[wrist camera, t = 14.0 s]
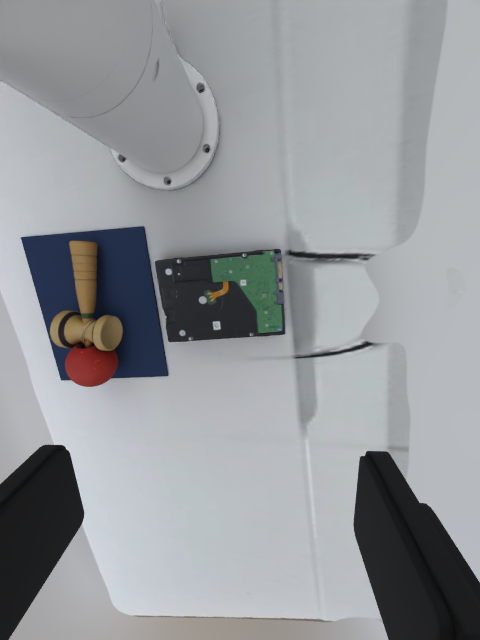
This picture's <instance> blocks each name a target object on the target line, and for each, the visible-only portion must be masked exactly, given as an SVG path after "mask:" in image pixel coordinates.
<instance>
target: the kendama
mask: <svg viewBox="0 0 480 640" xmlns="http://www.w3.org/2000/svg"><path fill="white" fill-rule="evenodd" d="M69 245H70V251H71V255H72V263H73V270H74V278H75V287H76V293H77V299H78V303H79V308H80V312H81V313H80V312H78V311H62V312H60V313H59V314H57V315H56V316H55V318H54V319H53V321H52V323H51V327H50V335H51V339H52V341H53V342H54V343H55V344H56V345H57V346H59V347H64V348H72V349H71V350H70V352H69V353H68V355H67V357H66V361H65V369H66V372H67V375H68V376H69V377H70V379H71V380H72V381H73V382H75V383H76V384H78V385H81V386H86V387H93V386H98V385H101V384H103V383H105V382H106V381H108V380H109V379H110V378H111V377H112V376H113V375H114V374H115V372H116V370H117V366H118V356H117V353H116V351H115V350H114V349H115V348H116V347H117V346H118V345H119V343H120V341H121V338H122V333H123V329H122V324H121V321H120V320H119V318H117V317H116V316H111V315H104V316H102V317H100V318H99V319H98V320H94V316H95V305H96V292H97V280H96V279H97V272H96V271H97V265H96V264H97V257H96V256H97V247H98V246H97V243H95V242H88V241H70V242H69Z"/></svg>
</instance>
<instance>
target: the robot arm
mask: <svg viewBox="0 0 480 640" xmlns="http://www.w3.org/2000/svg"><path fill="white" fill-rule="evenodd" d="M0 81H2V82H4V83H6V84H7V85H9V86H11V87H12V88H14V89H16V90H17V91H19V92H21V93H22V94H24V95H26V96H27V97H29V98H30V99H32V100H34V101H35V102H37V103H39V104H40V105H41V106H43V107H45V108H46V109H48V110H50V111H51V112H53V113H54V114H56V115H58V116H59V117H61V118H62V119H64V120H66V121H67V122H69V123H71V124H72V125H74V126H75V127H77V128H79V129H80V130H82V131H83V132H85V133H87V134H88V135H90V136H91V137H93V138H95V139H96V140H98V141H100V142H101V143H103V144H104V145H106V146H108V147H109V149H110V151H111V153H112V156H113V157H114V159H115V160H116V162H117V163H118V165H119V166H120V167H121V168H122V169H123V170H124V171H125V173H126V174H128V175H129V176H130V177H132V178H133V179H134V180H135V181H137V182H139V183H141V184H143V185H145V186H148V187H150V188H153V189H159V190H174V189H178V188H182V187H184V186H186V185H188V184H190V183H192V182H194V181H195V180H196V179H197V178H198V177H200V176H201V175H202V174H203V172H204V171H205V170H206V169H207V168H208V166H209V164H210V162H211V160H212V159H213V157H214V154H215V151H216V148H217V144H218V138H219V117H218V111H217V107H216V103H215V100H214V97H213V95H212V93H211V90H210V88H209V86H208V84H207V83H206V81H205V80H204V78H203V77H202V75H201V74H200V73H199V72H198V71H197V70H196V69H195V68H194V67H193V66H192V65H190V64H189V63H187V62H186V61H184V60H183V59H181V58H180V57H179V55H178V53H177V50H176V48H175V46H174V44H173V41H172V39H171V37H170V34H169V32H168V30H167V28H166V25H165V23H164V18H163V9H162V1H161V0H0ZM201 90H204V92H202V93H200V91H201ZM206 149H210V151H209V153H206ZM124 158H126V160H125V162H124ZM169 180H171V183H170V184H168V181H169ZM83 518H84V509H83V505H82V501H81V497H80V493H79V489H78V485H77V481H76V477H75V473H74V469H73V464H72V460H71V456H70V453H69V451H68V450H66V448H65V447H64V446H63V445H43V446H42V447H40V448H39V449H38V450H37V451H36V452H35V453H33V454H32V455H31V456H30V457H29V458H28V459H27V460H26V461H25V462H24V463H23V464H22V465H21V466H19V468H17V469H16V470H15V471H14V472H13V473H12V474H11V475H10V476H9V477H8V478H7V479H6V480H4V481H3V482H2V483H1V484H0V640H9V638H10V636H11V635H12V633H13V632H14V630H15V629H16V627H17V625H18V624H19V622H20V621H21V619H22V618H23V616H24V614H25V613H26V611H27V610H28V608H29V607H30V605H31V603H32V602H33V600H34V598H35V597H36V595H37V594H38V592H39V591H40V589H41V588H42V586H43V584H44V583H45V581H46V580H47V578H48V577H49V575H50V573H51V572H52V570H53V568H54V567H55V565H56V564H57V562H58V561H59V559H60V558H61V556H62V554H63V553H64V551H65V550H66V548H67V547H68V545H69V543H70V542H71V540H72V539H73V537H74V536H75V534H76V532H77V531H78V529H79V528H80V526H81V524H82V522H83ZM354 532H355V536H356V540H357V543H358V546H359V549H360V552H361V555H362V558H363V562H364V565H365V568H366V571H367V574H368V577H369V580H370V583H371V586H372V589H373V593H374V596H375V599H376V602H377V605H378V608H379V611H380V614H381V617H382V620H383V624H384V627H385V630H386V633H387V636H388V639H389V640H480V582H479V581H478V579H477V578H476V576H475V575H474V573H473V572H472V570H471V568H470V567H469V565H468V564H467V562H466V561H465V559H464V558H463V556H462V554H461V553H460V551H459V550H458V548H457V547H456V545H455V544H454V542H453V540H452V539H451V537H450V536H449V534H448V533H447V531H446V530H445V528H444V527H443V525H442V524H441V522H440V520H439V519H438V517H437V516H436V514H435V513H434V511H433V510H432V509H431V507H429V506H428V505H427V504H424V503H419V501H418V500H417V498H416V496H415V495H414V493H413V492H412V490H411V488H410V487H409V485H408V483H407V482H406V480H405V478H404V477H403V475H402V473H401V472H400V470H399V468H398V467H397V465H396V464H395V462H394V460H393V459H392V457H391V455H390V454H389V453H388V452H384V451H367V452H366V455H365V456H361V457H360V462H359V472H358V483H357V493H356V504H355V514H354Z"/></svg>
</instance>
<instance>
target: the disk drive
mask: <svg viewBox="0 0 480 640" xmlns="http://www.w3.org/2000/svg"><path fill="white" fill-rule="evenodd" d="M281 259H282V257H281V250H280V249H274V250H257V251H251V252H241V253H230V254H219V255H209V256H198V257H188V258H173V259H166V260H159V261H156V262H155V267H156V272H157V278H158V283H159V289H160V295H161V301H162V307H163V310H164V312H165V315H166V316H167V318H166V330H167V335H168V341H169V342H186V341H196V340H210V339H224V338H241V337H253V336H254V337H255V336H270V335H283V334H285V316H284V293H283V276H282V262H281Z"/></svg>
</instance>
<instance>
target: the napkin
mask: <svg viewBox="0 0 480 640" xmlns="http://www.w3.org/2000/svg"><path fill="white" fill-rule="evenodd" d="M21 240H22V243H23V247H24V250H25V254H26V257H27V261H28V264H29V268H30V271H31V275H32V279H33V282H34V286H35V289H36V293H37V296H38V300H39V303H40V307H41V311H42V314H43V318H44V321H45V325H46V328H47V332H48V335H49V339H50V342H51V346H52V350H53V353H54V357H55V360H56V364H57V367H58V371H59V374H60V378H61V380H71V379H70V377H69V376H68V375H67V372H66V369H65V361H66V357H67V355H68V353H69V352H70V350H71V349H72V348H64V347H59V346H57V345H56V344H55V343H54V342H53V341H52V339H51V335H50V327H51V323H52V321H53V319H54V318H55V316H56V315H57V314H59V313H60V312H62V311H78V312H80V308H79V303H78V299H77V293H76V287H75V278H74V270H73V263H72V255H71V251H70V245H69V242H70V241H88V242H95V243H97V246H98V247H97V256H96V257H97V264H96V265H97V271H96V272H97V279H96V280H97V292H96V305H95V316H94V320H98V319H99V318H100V317H102V316H104V315H111V316H116V317H117V318H119V320H120V321H121V324H122V329H123V333H122V338H121V341H120V343H119V345H118V346H117V347H116V348H115V349H114V350H115V351H116V353H117V356H118V366H117V370H116V372H115V374H114V375H113V376H112V377H111V378H131V377H156V376H168V370H167V364H166V358H165V352H164V346H163V339H162V333H161V327H160V321H159V315H158V309H157V303H156V297H155V291H154V284H153V278H152V272H151V266H150V260H149V254H148V248H147V242H146V236H145V230H144V227H133V228H122V229H110V230H99V231H88V232H77V233H65V234H54V235H43V236H32V237H21ZM80 313H81V312H80Z"/></svg>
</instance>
